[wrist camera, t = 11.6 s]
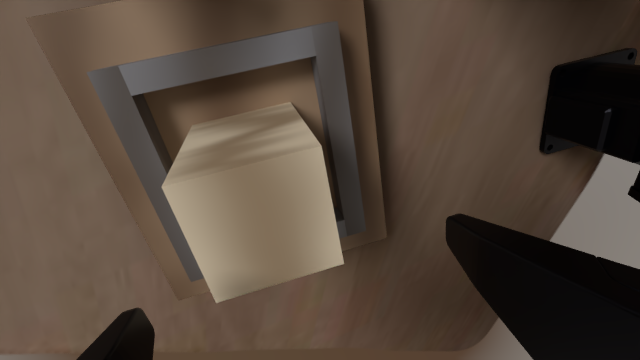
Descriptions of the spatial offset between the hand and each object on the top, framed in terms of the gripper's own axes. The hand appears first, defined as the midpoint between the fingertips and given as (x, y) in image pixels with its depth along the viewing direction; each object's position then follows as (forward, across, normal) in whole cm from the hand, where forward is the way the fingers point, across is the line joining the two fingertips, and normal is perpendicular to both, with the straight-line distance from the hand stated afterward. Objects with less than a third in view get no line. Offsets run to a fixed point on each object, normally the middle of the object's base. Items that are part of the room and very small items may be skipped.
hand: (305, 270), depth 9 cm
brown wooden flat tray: (+12, +1, 0) cm, 12 cm away
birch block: (+9, +1, 0) cm, 9 cm away
